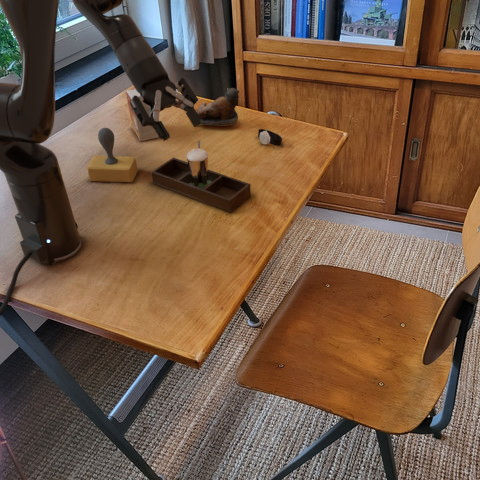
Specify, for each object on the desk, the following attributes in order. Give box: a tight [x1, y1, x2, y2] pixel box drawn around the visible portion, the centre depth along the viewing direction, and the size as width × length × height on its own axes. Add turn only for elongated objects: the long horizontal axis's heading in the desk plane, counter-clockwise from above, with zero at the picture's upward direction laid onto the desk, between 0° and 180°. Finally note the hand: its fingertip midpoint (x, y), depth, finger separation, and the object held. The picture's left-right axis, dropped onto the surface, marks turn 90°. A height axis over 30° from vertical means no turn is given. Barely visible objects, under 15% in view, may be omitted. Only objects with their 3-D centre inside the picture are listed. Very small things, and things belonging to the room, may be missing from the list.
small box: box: [125, 88, 160, 142], centre depth 148 cm, size 8×6×10 cm
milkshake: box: [186, 139, 209, 189], centre depth 127 cm, size 4×5×10 cm
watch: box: [257, 128, 283, 147], centre depth 146 cm, size 8×5×4 cm, turn 41°
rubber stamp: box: [86, 127, 139, 183], centre depth 131 cm, size 10×6×12 cm, turn 87°
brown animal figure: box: [196, 87, 240, 127], centre depth 152 cm, size 12×7×10 cm, turn 85°
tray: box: [150, 157, 252, 214], centre depth 130 cm, size 8×22×3 cm, turn 58°
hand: (183, 131), depth 124 cm, fingers open, 8 cm apart
